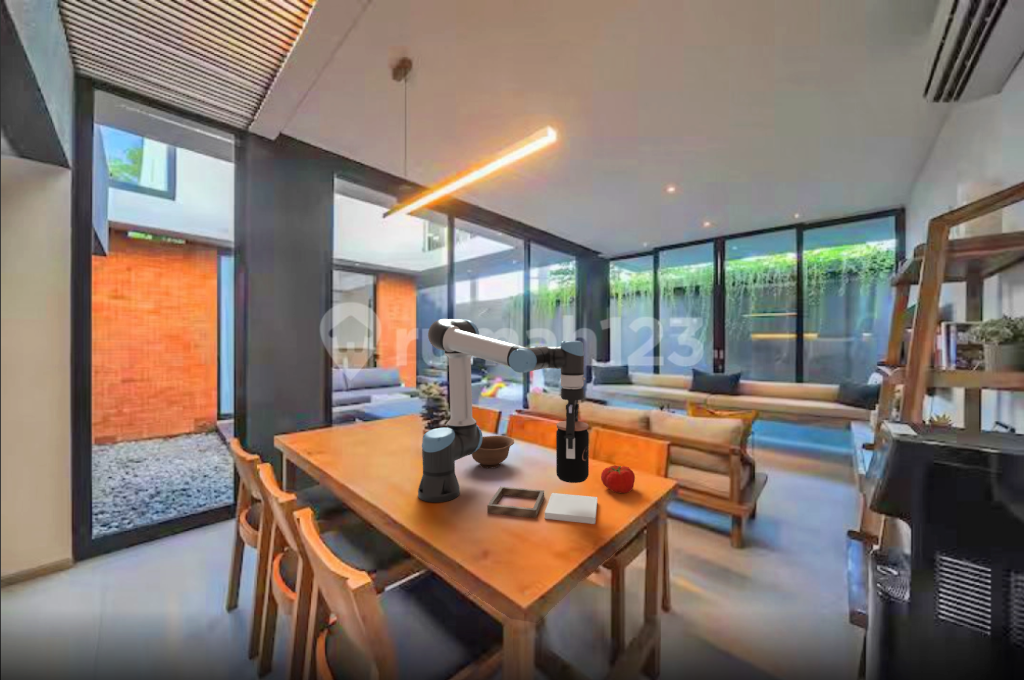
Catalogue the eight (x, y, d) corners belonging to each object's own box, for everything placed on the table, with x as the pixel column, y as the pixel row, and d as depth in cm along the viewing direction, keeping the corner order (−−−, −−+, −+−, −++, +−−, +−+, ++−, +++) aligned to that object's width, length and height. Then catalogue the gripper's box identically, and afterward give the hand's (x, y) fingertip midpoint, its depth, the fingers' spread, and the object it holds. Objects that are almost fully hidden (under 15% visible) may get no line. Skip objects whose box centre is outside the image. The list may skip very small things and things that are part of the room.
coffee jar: (588, 484, 132) (588, 429, 131) (554, 482, 134) (554, 427, 133) (588, 473, 142) (588, 421, 142) (557, 471, 144) (557, 420, 144)
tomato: (608, 481, 165) (608, 459, 164) (640, 488, 157) (640, 465, 157) (594, 492, 153) (594, 469, 153) (627, 500, 146) (627, 476, 146)
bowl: (471, 456, 196) (471, 433, 196) (517, 458, 193) (517, 435, 193) (459, 472, 175) (459, 446, 174) (510, 475, 172) (510, 449, 171)
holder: (487, 512, 137) (487, 505, 137) (500, 493, 153) (500, 486, 153) (535, 517, 133) (535, 510, 133) (544, 497, 149) (544, 490, 149)
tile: (544, 518, 133) (544, 512, 133) (551, 498, 148) (551, 492, 148) (595, 524, 129) (595, 517, 129) (597, 502, 144) (597, 497, 144)
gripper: (581, 393, 125) (581, 465, 126) (585, 382, 147) (585, 443, 148) (556, 392, 127) (556, 463, 128) (564, 382, 149) (565, 442, 150)
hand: (572, 452), depth 138 cm, fingers closed on coffee jar, 11 cm apart
